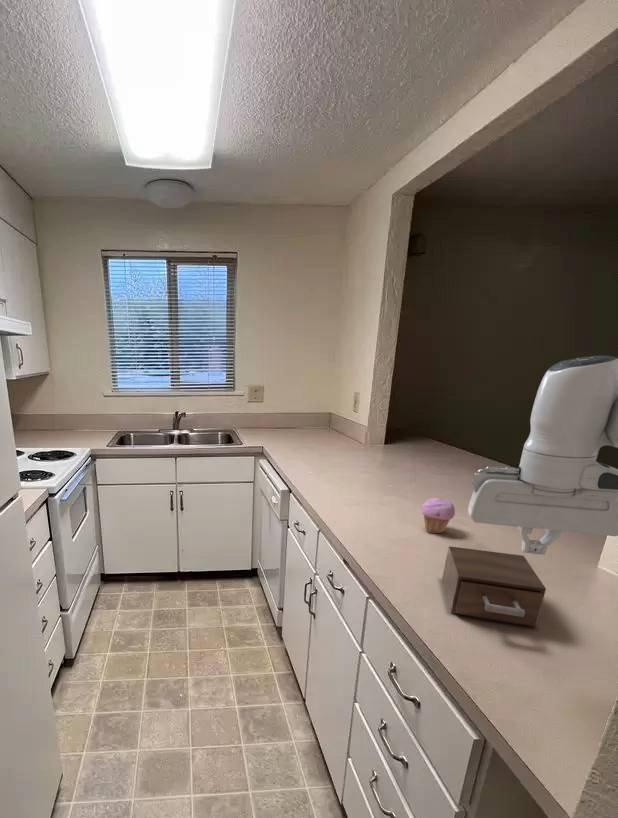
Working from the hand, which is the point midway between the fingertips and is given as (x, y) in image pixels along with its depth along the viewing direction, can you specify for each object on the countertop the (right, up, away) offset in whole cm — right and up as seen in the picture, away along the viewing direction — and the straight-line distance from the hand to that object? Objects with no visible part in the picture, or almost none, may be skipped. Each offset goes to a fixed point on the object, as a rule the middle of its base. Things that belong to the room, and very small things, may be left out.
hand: (532, 552), depth 70 cm
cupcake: (+14, 0, +58) cm, 59 cm away
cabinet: (+6, -13, +22) cm, 26 cm away
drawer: (+5, -13, +18) cm, 23 cm away
